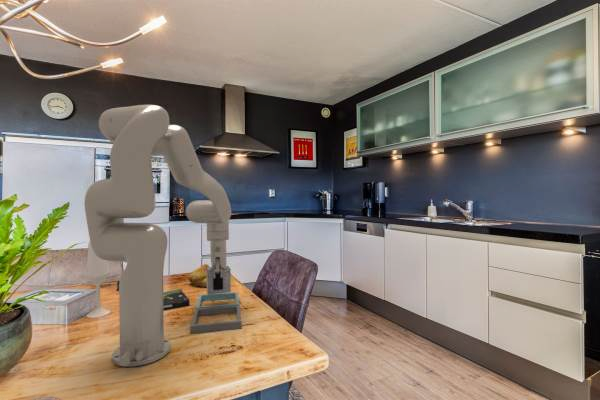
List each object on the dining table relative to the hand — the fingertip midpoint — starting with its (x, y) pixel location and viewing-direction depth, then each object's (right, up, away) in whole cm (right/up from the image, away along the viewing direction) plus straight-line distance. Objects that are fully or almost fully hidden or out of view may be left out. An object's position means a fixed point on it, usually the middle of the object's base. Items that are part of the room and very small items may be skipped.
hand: (218, 286), depth 110 cm
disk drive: (-18, -7, +3) cm, 20 cm away
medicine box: (0, -2, 0) cm, 2 cm away
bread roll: (-14, -7, +26) cm, 30 cm away
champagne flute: (-37, -7, -8) cm, 39 cm away
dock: (+2, -6, -7) cm, 10 cm away
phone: (-46, -7, +25) cm, 53 cm away
